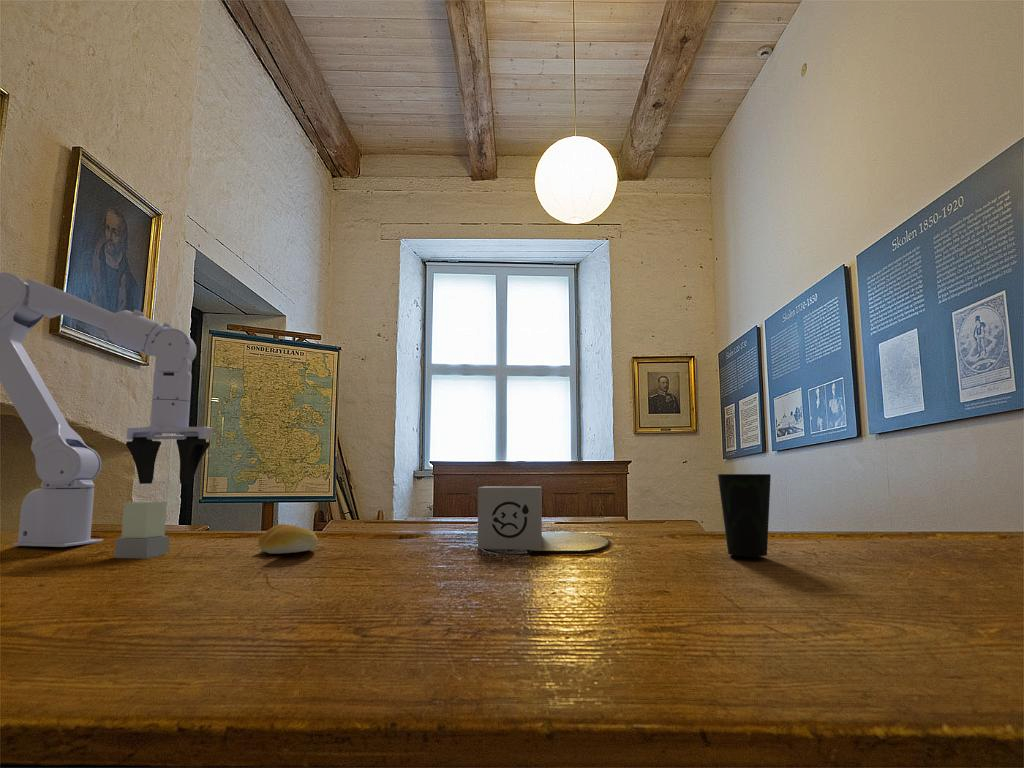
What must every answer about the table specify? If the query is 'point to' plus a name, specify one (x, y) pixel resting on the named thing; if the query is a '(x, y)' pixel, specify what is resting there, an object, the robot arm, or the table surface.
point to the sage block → (144, 519)
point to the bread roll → (287, 539)
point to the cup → (745, 512)
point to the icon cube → (510, 517)
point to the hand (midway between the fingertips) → (165, 483)
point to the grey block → (141, 547)
